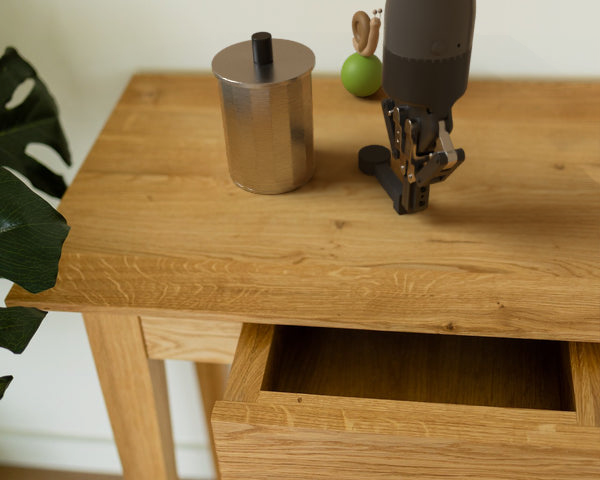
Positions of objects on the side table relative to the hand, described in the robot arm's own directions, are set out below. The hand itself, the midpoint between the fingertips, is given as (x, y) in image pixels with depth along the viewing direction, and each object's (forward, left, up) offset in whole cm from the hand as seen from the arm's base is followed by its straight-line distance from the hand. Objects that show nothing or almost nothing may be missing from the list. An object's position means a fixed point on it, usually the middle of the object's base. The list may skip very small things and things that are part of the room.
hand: (414, 207), depth 76 cm
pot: (+10, -14, -1) cm, 18 cm away
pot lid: (+10, -14, +11) cm, 21 cm away
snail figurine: (-6, -26, -2) cm, 27 cm away
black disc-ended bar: (0, -7, -1) cm, 7 cm away
